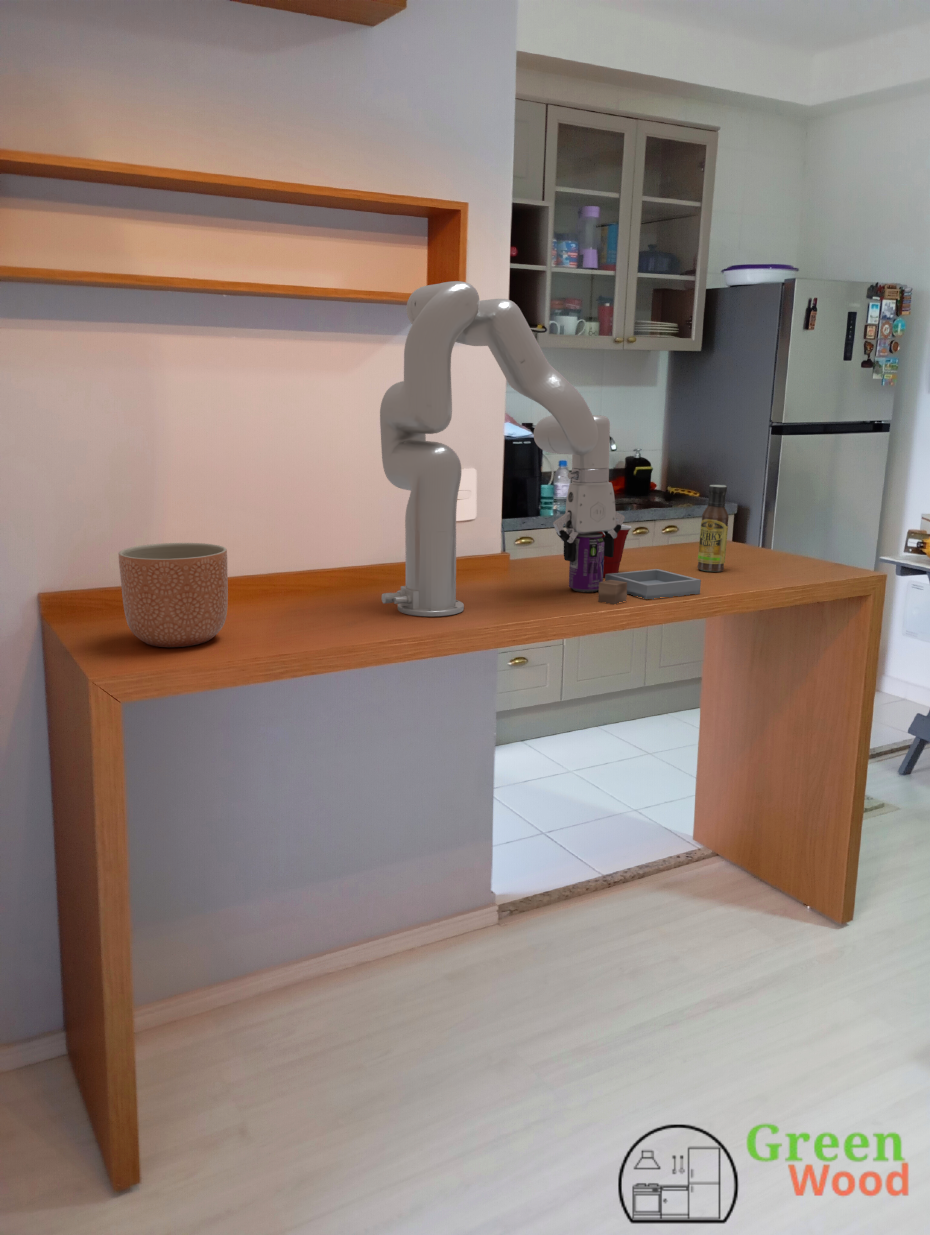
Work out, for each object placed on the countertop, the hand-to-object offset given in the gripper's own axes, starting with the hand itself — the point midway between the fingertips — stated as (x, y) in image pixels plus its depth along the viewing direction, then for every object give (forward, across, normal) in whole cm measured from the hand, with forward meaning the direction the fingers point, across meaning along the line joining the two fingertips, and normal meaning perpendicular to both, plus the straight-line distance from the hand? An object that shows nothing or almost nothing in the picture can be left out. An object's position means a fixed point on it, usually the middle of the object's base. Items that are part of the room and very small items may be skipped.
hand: (588, 558), depth 211 cm
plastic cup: (+7, +13, +12) cm, 19 cm away
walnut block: (+7, -3, -12) cm, 14 cm away
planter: (+5, -87, -5) cm, 87 cm away
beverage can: (+7, -1, 0) cm, 7 cm away
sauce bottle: (+8, +39, +6) cm, 40 cm away
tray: (+7, +11, -7) cm, 15 cm away
